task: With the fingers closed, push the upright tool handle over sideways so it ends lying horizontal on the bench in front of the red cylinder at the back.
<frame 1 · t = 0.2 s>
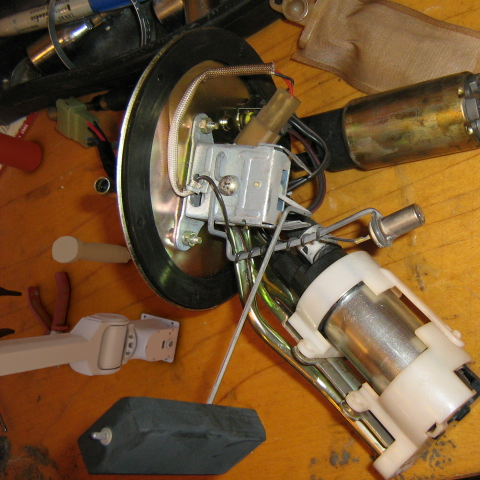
hand: (15, 312, 94), 10 cm above the table, tool pointing down, fingers open, 7 cm apart
pliers: (54, 318, 104), on the table
handle: (127, 255, 97), on the table
red cylinder: (31, 157, 111), on the table
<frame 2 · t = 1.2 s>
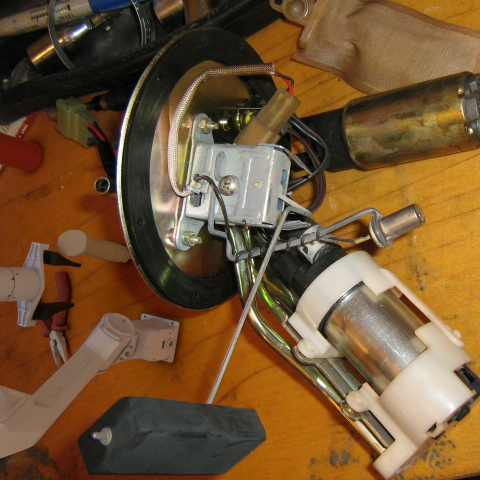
hand: (74, 284, 88), 10 cm above the table, tool pointing down, fingers open, 7 cm apart
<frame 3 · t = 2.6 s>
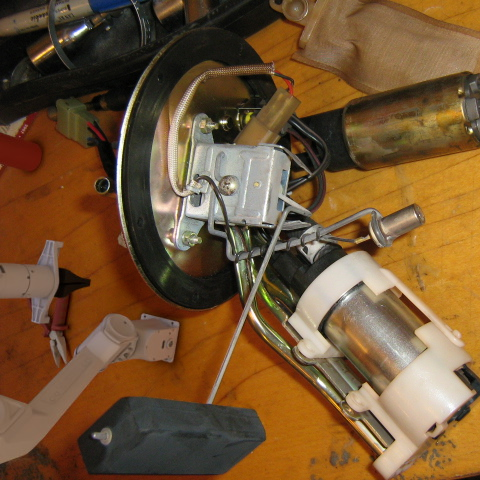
hand: (86, 282, 89), 9 cm above the table, tool pointing down, fingers closed
handle: (123, 244, 96), point 2 cm above the table
everything else where it was.
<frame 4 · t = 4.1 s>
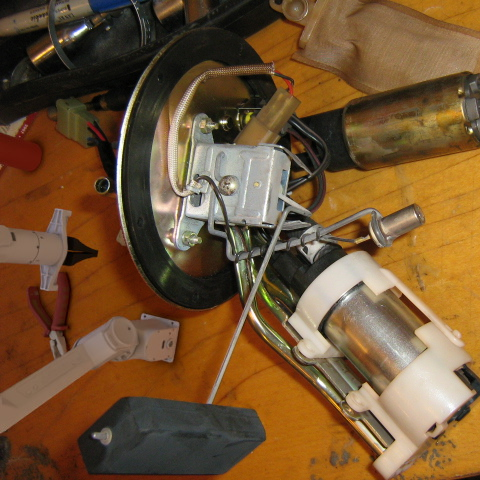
hand: (94, 253, 90), 8 cm above the table, tool pointing down, fingers closed
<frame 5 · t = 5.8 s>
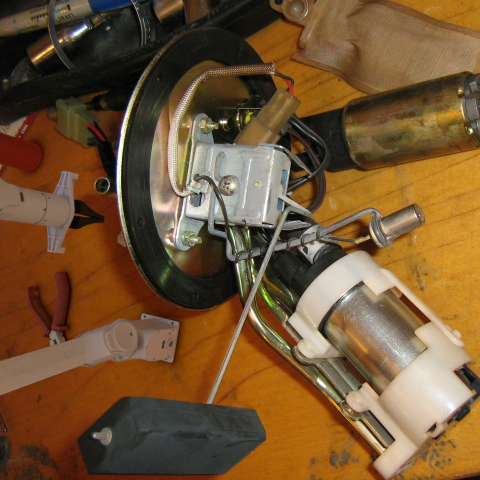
hand: (100, 218, 90), 8 cm above the table, tool pointing down, fingers closed
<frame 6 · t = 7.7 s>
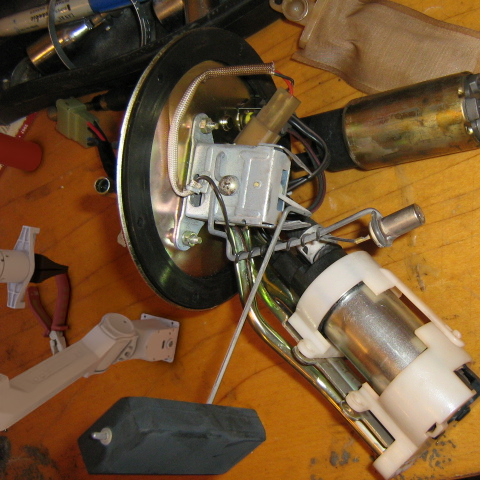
hand: (64, 269, 89), 10 cm above the table, tool pointing down, fingers closed
nothing on the table moved.
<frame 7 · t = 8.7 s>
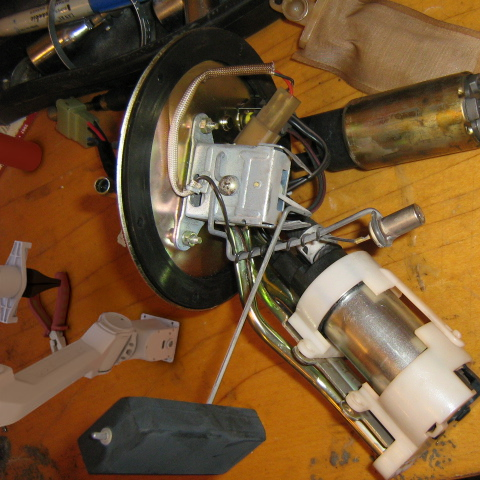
hand: (57, 282, 90), 10 cm above the table, tool pointing down, fingers closed
nothing on the table moved.
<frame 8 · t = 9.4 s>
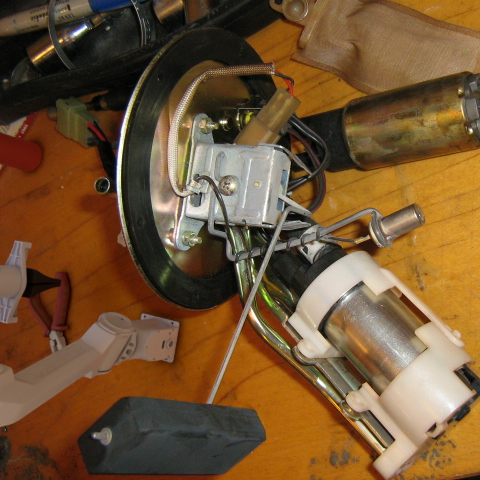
hand: (57, 282, 90), 10 cm above the table, tool pointing down, fingers closed
nothing on the table moved.
at the end: handle tilted 87° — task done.
